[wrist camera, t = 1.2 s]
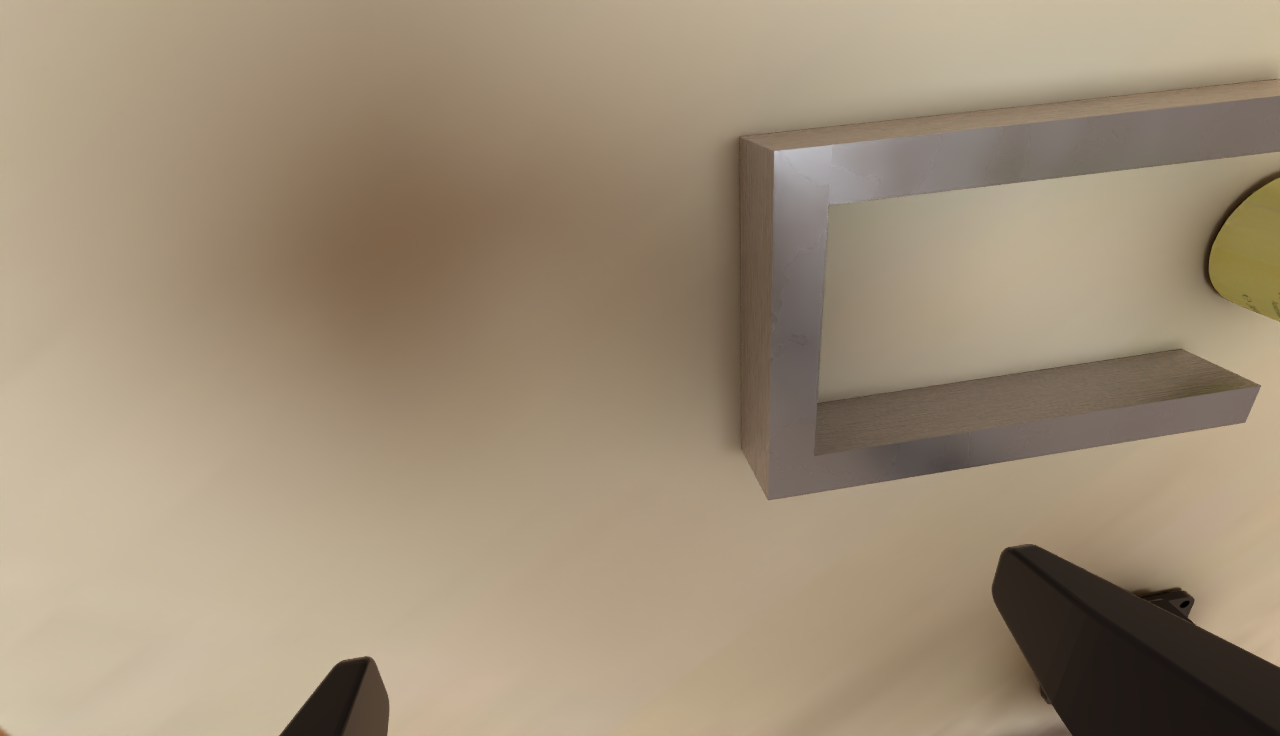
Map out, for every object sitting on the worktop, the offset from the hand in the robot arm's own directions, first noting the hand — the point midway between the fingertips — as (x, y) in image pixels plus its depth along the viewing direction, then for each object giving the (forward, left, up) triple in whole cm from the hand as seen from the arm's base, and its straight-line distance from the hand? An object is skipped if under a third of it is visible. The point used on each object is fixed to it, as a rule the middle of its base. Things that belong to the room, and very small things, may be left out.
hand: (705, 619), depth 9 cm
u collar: (-1, -13, -13) cm, 18 cm away
